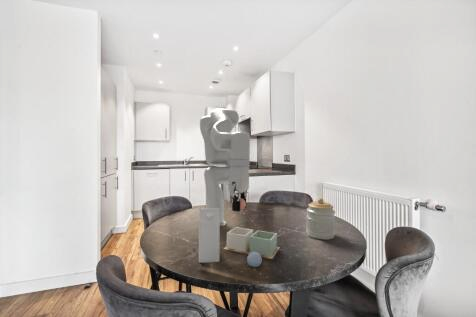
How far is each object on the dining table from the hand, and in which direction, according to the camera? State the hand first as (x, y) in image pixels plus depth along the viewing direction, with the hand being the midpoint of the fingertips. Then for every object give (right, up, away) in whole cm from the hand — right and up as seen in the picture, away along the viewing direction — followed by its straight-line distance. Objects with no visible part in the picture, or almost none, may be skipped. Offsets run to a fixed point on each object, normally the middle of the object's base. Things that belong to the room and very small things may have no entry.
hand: (239, 208), depth 90 cm
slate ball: (+5, -17, -13) cm, 22 cm away
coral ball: (0, -1, 0) cm, 1 cm away
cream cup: (0, -16, +2) cm, 16 cm away
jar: (+39, -17, +19) cm, 46 cm away
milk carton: (-11, -17, -8) cm, 22 cm away
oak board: (+5, -17, 0) cm, 17 cm away
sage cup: (+9, -16, -2) cm, 18 cm away
